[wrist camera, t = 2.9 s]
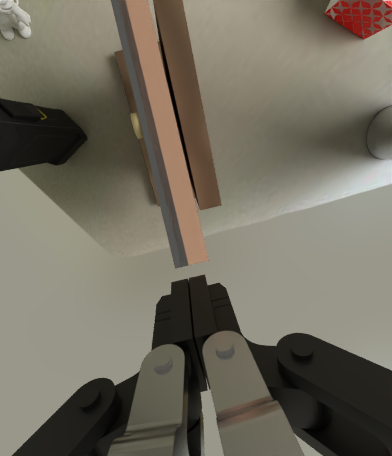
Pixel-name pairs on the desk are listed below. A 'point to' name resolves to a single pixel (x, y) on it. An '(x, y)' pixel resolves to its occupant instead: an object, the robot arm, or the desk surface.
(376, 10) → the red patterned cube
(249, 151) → the desk surface
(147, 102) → the picture frame
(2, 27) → the hat wearing toy figure
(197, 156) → the frame stand
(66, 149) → the portable radio
